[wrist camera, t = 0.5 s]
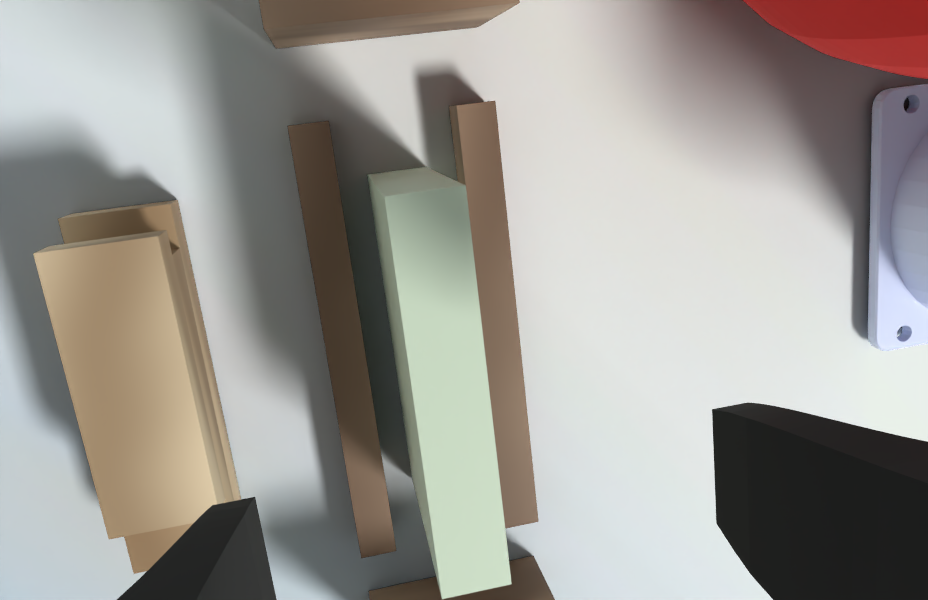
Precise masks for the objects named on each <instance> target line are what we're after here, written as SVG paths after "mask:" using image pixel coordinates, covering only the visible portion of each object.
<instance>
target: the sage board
mask: <svg viewBox="0 0 928 600" xmlns="http://www.w3.org/2000/svg"><path fill="white" fill-rule="evenodd" d="M367 176H368V183H369V190H370V196H371V203H372V210H373V217H374V223H375V230H376V237H377V244H378V251H379V257H380V264H381V271H382V278H383V284H384V291H385V298H386V305H387V312H388V318H389V325H390V332H391V339H392V345H393V352H394V359H395V366H396V373H397V379H398V386H399V393H400V400H401V406H402V413H403V420H404V427H405V434H406V440H407V447H408V454H409V461H410V467H411V474H412V480H413V484H414V488H415V492H416V496H417V500H418V504H419V508H420V512H421V516H422V520H423V524H424V528H425V533H426V537H427V541H428V545H429V549H430V553H431V557H432V561H433V565H434V569H435V573H436V577H437V581H438V585H439V589H440V593H441V597H442V599H446V598H450V597H455V596H460V595H464V594H469V593H473V592H478V591H483V590H487V589H492V588H497V587H501V586H506V585H510V584H512V583H511V574H510V565H509V557H508V548H507V539H506V531H505V522H504V513H503V505H502V496H501V487H500V479H499V470H498V461H497V453H496V444H495V435H494V427H493V418H492V409H491V400H490V392H489V383H488V374H487V366H486V357H485V348H484V340H483V331H482V322H481V314H480V305H479V296H478V288H477V279H476V270H475V262H474V253H473V244H472V236H471V227H470V218H469V210H468V201H467V192H466V185H464V184H462V183H460V182H457V181H455V180H453V179H451V178H449V177H447V176H445V175H443V174H441V173H439V172H436V171H434V170H432V169H430V168H428V167H420V168H412V169H405V170H397V171H390V172H382V173H375V174H367Z"/></svg>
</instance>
